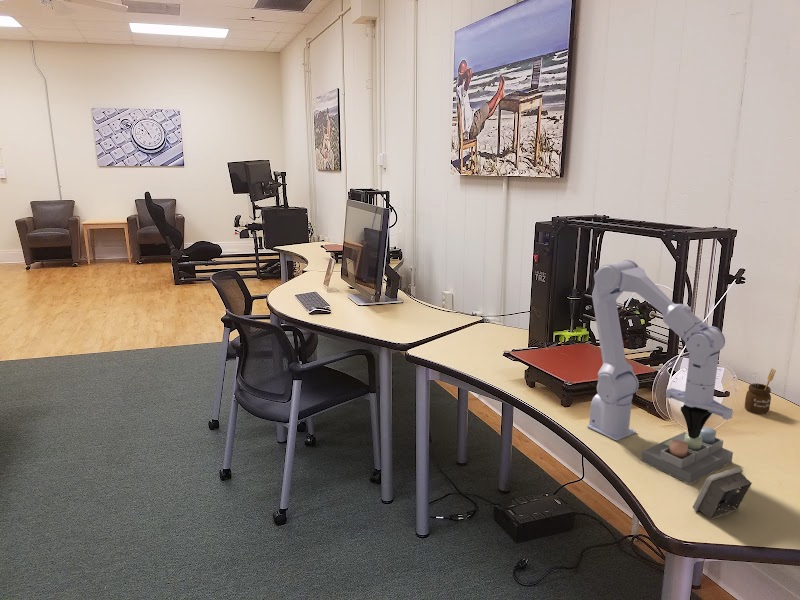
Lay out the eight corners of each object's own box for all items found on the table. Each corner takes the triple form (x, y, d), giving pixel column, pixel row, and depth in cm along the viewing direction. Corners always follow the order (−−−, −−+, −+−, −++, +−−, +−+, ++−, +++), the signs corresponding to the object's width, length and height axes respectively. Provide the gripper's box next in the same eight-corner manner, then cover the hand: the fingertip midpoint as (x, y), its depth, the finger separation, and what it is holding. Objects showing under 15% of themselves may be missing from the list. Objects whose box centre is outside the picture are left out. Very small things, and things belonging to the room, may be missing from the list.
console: (641, 460, 137) (643, 443, 136) (683, 441, 146) (685, 424, 145) (689, 484, 128) (691, 465, 126) (731, 461, 136) (734, 444, 135)
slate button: (694, 438, 138) (695, 429, 138) (703, 434, 140) (704, 425, 140) (709, 444, 136) (710, 435, 135) (718, 440, 137) (719, 431, 137)
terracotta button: (665, 452, 133) (667, 442, 132) (675, 447, 134) (676, 438, 134) (680, 458, 130) (681, 449, 129) (690, 454, 132) (691, 444, 131)
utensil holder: (739, 406, 165) (745, 366, 162) (760, 405, 166) (766, 365, 163) (752, 415, 160) (759, 374, 157) (775, 414, 160) (781, 373, 157)
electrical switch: (723, 499, 122) (733, 461, 119) (745, 514, 118) (756, 475, 115) (690, 510, 119) (699, 471, 116) (712, 526, 114) (722, 487, 111)
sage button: (680, 445, 136) (681, 435, 135) (689, 441, 137) (690, 431, 137) (695, 451, 133) (696, 442, 132) (704, 447, 134) (705, 437, 134)
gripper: (660, 374, 135) (654, 428, 138) (723, 396, 123) (715, 454, 126) (678, 368, 138) (672, 421, 142) (741, 388, 127) (732, 445, 130)
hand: (693, 436), depth 134 cm, fingers closed
